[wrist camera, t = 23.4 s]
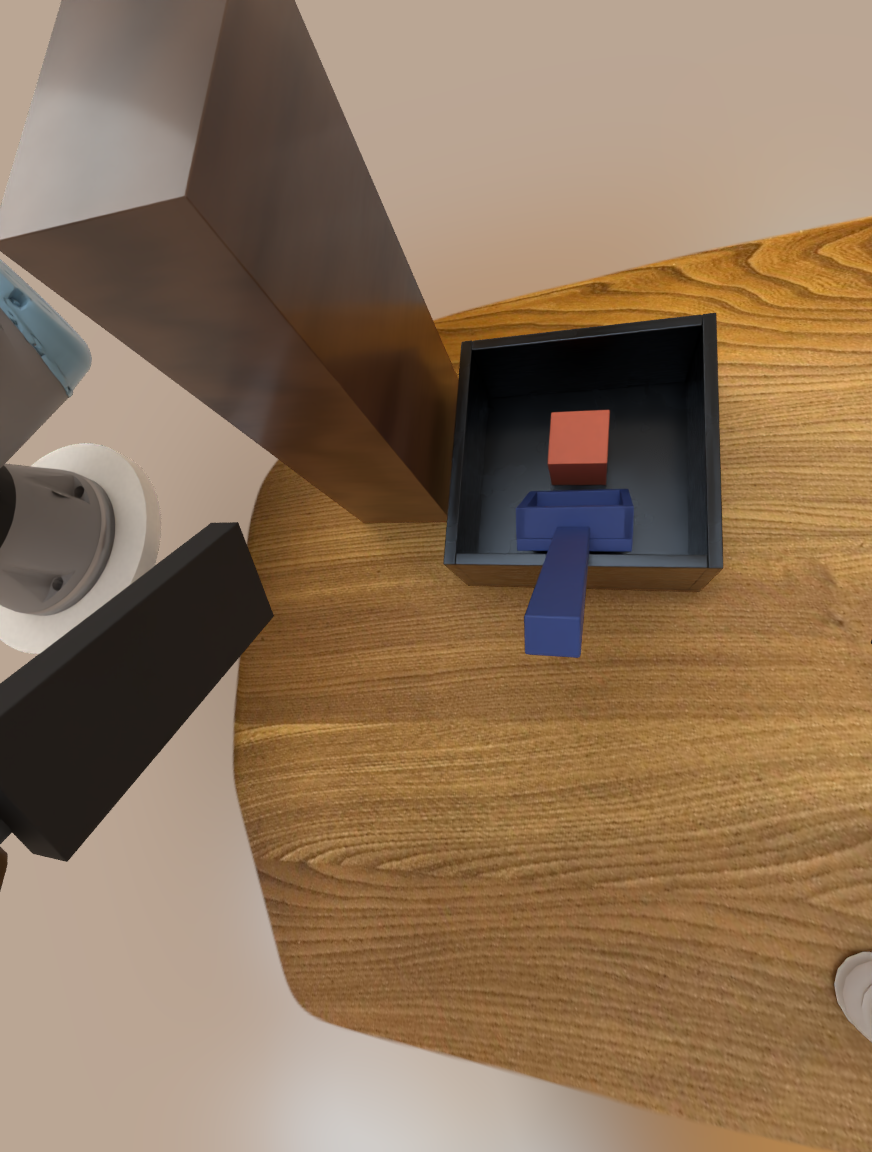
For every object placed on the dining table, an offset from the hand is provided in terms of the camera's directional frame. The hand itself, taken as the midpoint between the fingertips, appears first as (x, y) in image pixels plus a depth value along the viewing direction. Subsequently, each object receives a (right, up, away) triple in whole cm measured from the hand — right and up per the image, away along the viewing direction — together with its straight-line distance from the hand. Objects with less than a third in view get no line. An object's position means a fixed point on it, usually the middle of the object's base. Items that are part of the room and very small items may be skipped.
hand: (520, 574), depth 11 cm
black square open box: (+9, +7, +30) cm, 32 cm away
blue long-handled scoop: (+6, 0, +18) cm, 19 cm away
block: (+9, +11, +28) cm, 31 cm away
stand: (-4, +10, +34) cm, 36 cm away
